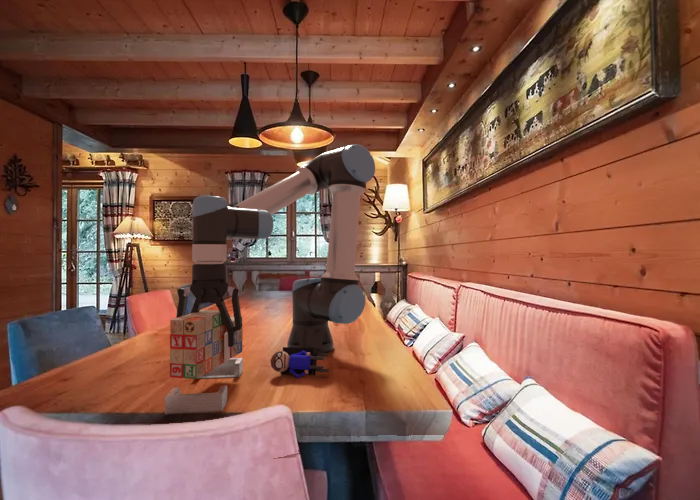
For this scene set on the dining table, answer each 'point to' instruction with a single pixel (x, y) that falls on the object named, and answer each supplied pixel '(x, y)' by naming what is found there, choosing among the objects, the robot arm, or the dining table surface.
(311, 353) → the character figurine
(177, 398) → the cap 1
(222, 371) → the grey piece
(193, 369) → the stack of blocks
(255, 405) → the dining table surface
